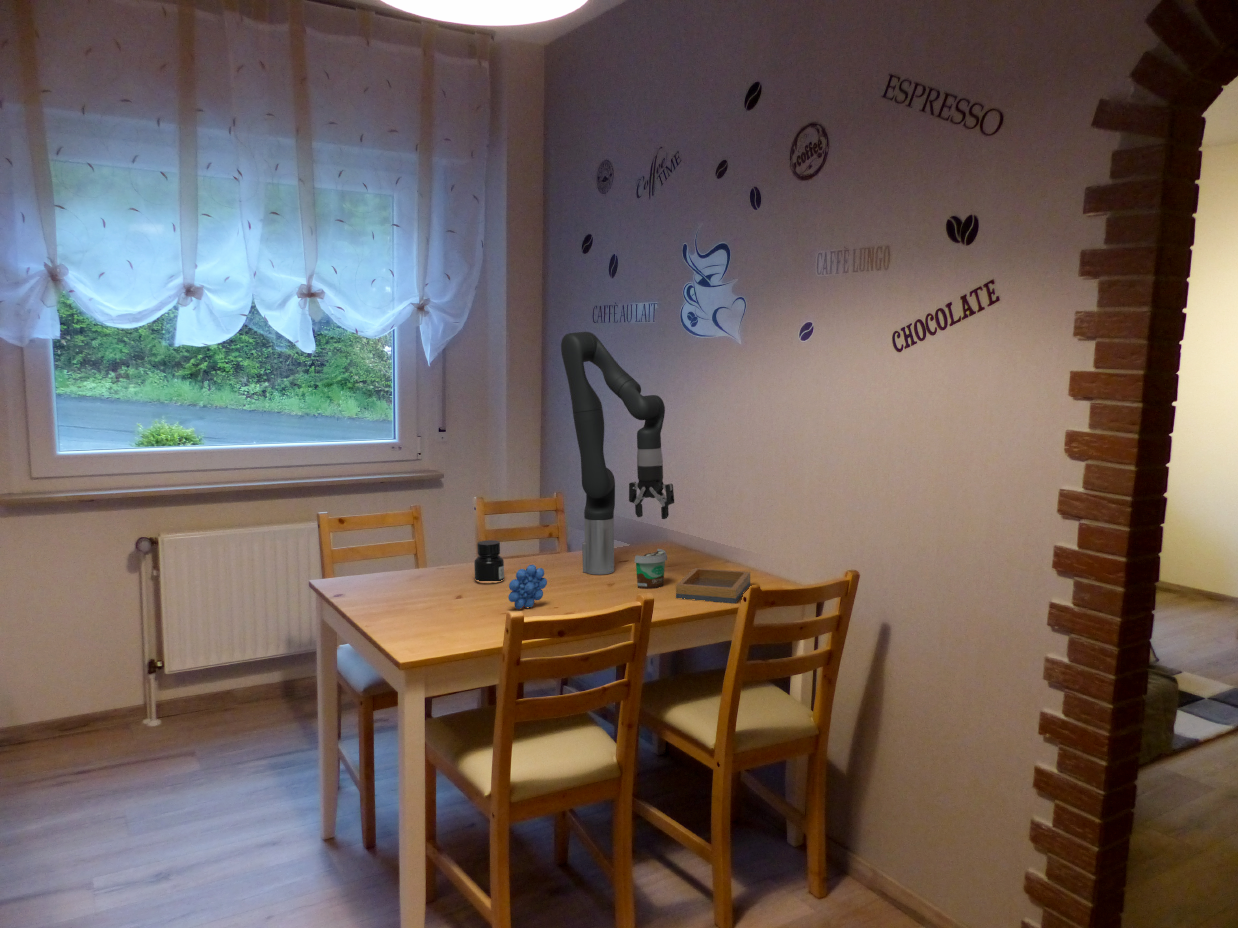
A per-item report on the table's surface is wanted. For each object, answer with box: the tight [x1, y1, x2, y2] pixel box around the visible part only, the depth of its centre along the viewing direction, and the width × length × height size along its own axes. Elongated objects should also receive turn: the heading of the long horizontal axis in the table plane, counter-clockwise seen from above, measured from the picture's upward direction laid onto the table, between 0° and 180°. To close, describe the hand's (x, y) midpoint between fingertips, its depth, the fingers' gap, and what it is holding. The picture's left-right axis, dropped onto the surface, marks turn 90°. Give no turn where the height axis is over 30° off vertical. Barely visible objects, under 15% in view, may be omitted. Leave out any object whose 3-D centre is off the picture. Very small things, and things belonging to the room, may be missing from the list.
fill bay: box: [675, 567, 751, 605], centre depth 263 cm, size 17×21×4 cm
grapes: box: [507, 564, 548, 610], centre depth 248 cm, size 12×7×12 cm, turn 123°
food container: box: [634, 548, 668, 590], centre depth 270 cm, size 12×6×10 cm, turn 143°
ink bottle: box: [473, 539, 505, 581], centre depth 277 cm, size 10×9×12 cm
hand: (652, 517), depth 270 cm, fingers open, 8 cm apart
